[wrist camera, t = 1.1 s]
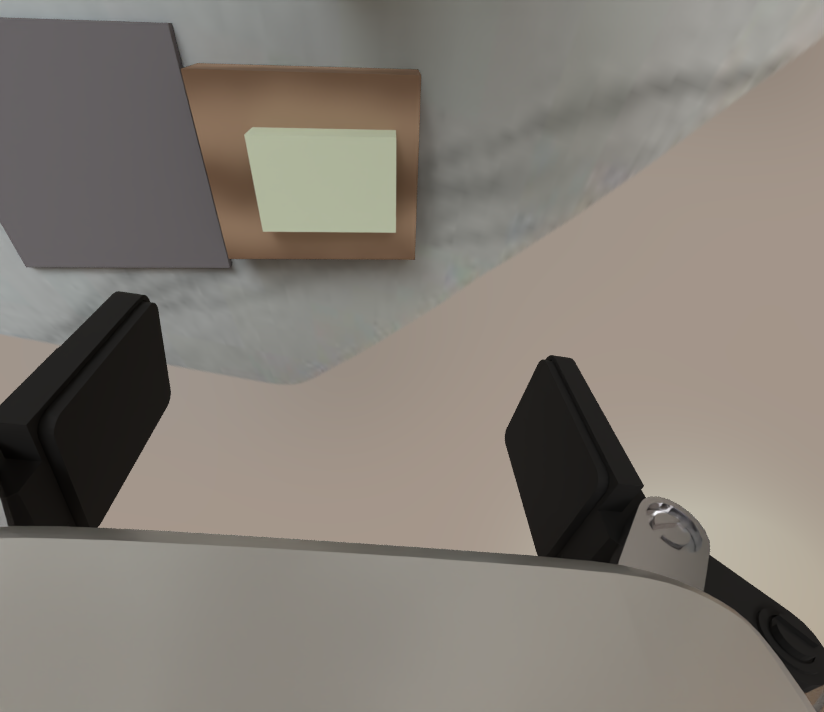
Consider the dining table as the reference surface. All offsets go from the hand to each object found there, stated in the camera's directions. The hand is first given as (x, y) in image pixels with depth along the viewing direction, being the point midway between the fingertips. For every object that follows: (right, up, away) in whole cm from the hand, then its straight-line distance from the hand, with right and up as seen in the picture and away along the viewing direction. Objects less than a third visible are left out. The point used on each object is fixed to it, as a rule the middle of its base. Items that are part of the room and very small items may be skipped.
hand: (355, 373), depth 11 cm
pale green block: (-4, +12, +18) cm, 22 cm away
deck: (-5, +14, +21) cm, 26 cm away
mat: (-21, +14, +20) cm, 32 cm away
